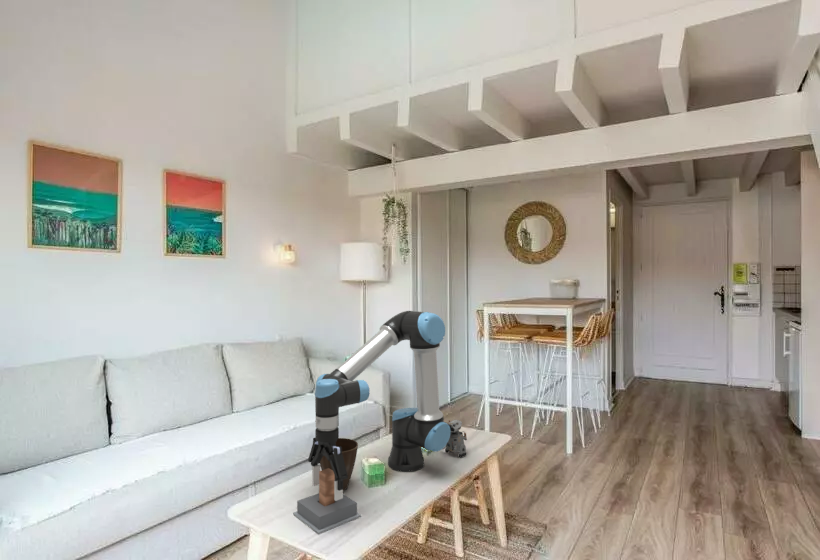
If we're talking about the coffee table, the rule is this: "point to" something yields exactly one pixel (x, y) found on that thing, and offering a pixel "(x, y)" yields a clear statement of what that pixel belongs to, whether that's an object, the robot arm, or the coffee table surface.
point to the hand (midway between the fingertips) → (327, 491)
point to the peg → (326, 487)
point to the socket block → (325, 513)
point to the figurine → (456, 439)
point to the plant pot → (348, 455)
